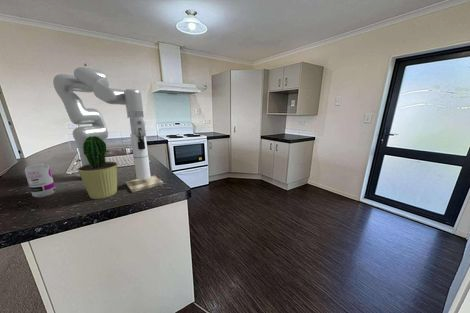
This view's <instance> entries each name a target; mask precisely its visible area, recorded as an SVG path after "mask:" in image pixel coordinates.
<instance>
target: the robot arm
mask: <svg viewBox="0 0 470 313" xmlns="http://www.w3.org/2000/svg"><path fill="white" fill-rule="evenodd" d="M52 82H53V83H52V84H53V87H54V91H55V92H56V94H57V96H59V98H60V99H61V101H62V103H63V106H64V109H65V110H66V111H65V112H66V113H67V115H68V118H69V120H70V122H71V123H72V124H74V125H79V127H75V128H74V129H73V130H72V137H73V139H74V142H75V143H76V145H77V150H78V153H79V158H80V163H81V166H84V165H88V164H89V162H88V160H87V157H86V156H85V155H84V153H83V152H84V151H83V149H82V148H83V146H82V145H83V144H84V142H85V141H86V139H87V138H88V137H90V136H91V137H93V136H97V137H99V138H100V139H102V140H103V141H104V140H106V139H107V138H108V137H109V131H108V128H107V126H106V123H105V120H104V117H103V114H101V112H100V111H99V110H98V109H96V108H86V106H85V105H84V103H83V100H82V99H81V98H80V97H79V95H77V94H76V93H75V92H78V93H79V92H80V93H93V94H94V95H95V97H96V98H97V99H98V100H100V101H102V102H104V103H106V104H109V105H119V106H121V105H122V106H125V111H126V116H127V118H128V119H129V123H130V124H129V125H130V131H131V133H130V134H135V136H136V137H137V139H138V149H139V150H141V149H145V142H144V136H146V137H147V133H146V132H147V131H146V126H145V122H144V121H145V120H144V118H145V116H144V108H143V100H142V99H143V98H142V93H141V91H140V90H139V89H133V88H132V89H131V88H129V89H121V88H119V89H118V88H113V87H109V85H110V83H109V81H108V78H107V76H106V74H105V73H104V72H102V71H101V70H98V69H95V68H89V67H86V66H85V67H83V66H82V67H81V66H79V67H77V68H75V69H74V71H73V74H66V73H64V74H63V73H62V74H56V75H55V76H54V77H53V81H52ZM80 125H83V126H80ZM85 125H87V126H85ZM138 134H140V136H138ZM87 136H88V137H87ZM139 137H140V138H139ZM84 140H85V141H84ZM73 176H74V177H76V178H78V177H81V176H80V174H79V172H74V173H73Z"/></svg>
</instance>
